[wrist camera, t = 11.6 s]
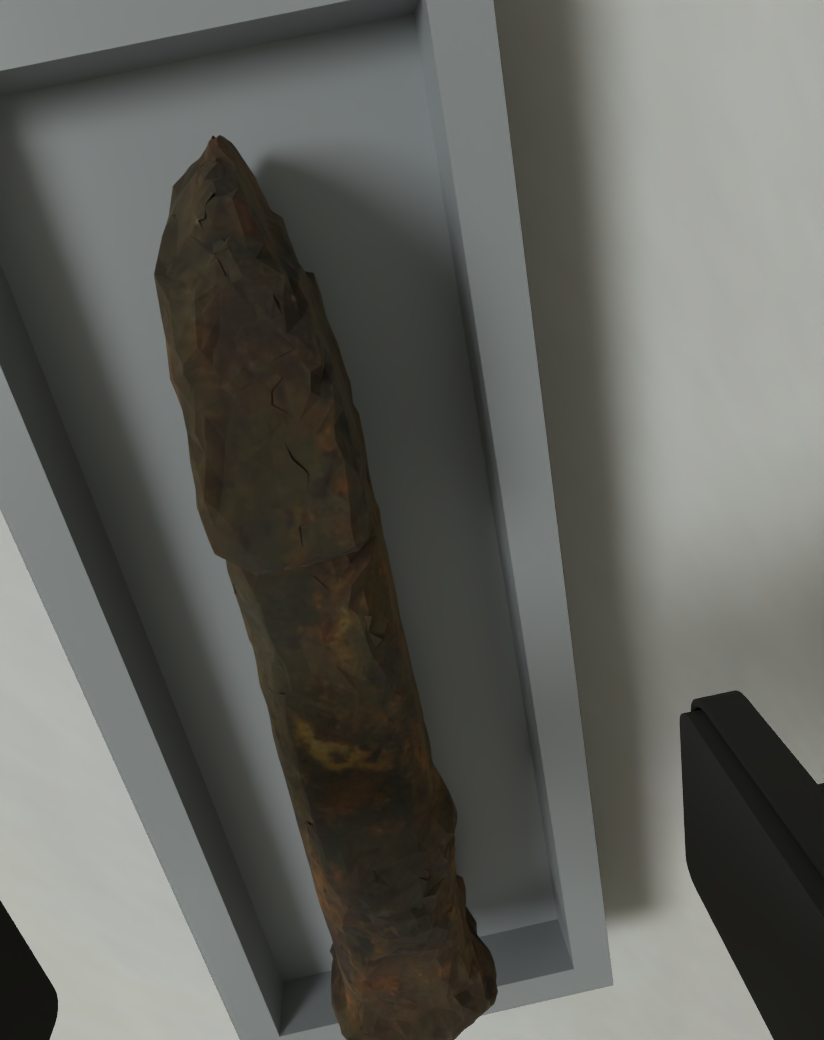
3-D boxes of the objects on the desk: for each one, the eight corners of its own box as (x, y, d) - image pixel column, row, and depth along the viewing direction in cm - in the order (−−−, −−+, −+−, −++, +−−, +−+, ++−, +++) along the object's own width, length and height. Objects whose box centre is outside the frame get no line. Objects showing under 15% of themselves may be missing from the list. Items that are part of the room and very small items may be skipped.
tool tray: (453, -50, 13) (480, -113, 10) (583, 905, 22) (613, 985, 19) (-114, 65, 12) (-217, 27, 10) (261, 978, 22) (252, 1068, 19)
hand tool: (476, 899, 20) (516, 1082, 16) (333, 925, 20) (334, 1117, 15) (390, 136, 13) (422, 85, 8) (163, 162, 12) (76, 125, 8)
